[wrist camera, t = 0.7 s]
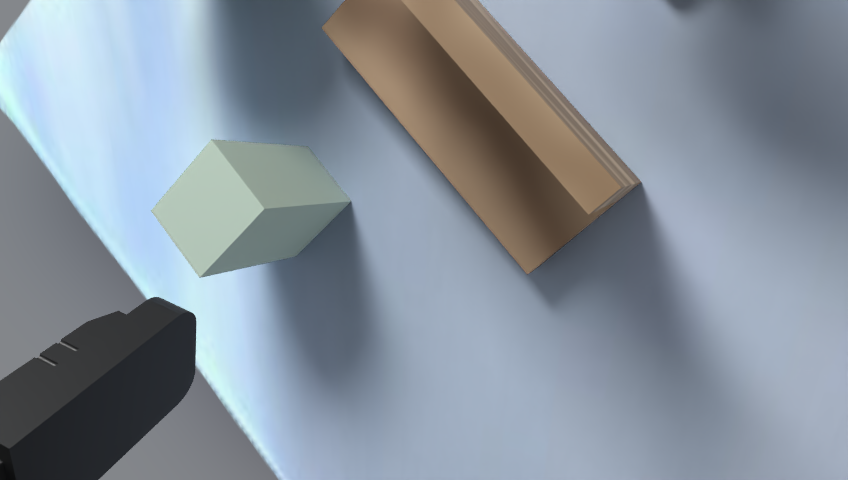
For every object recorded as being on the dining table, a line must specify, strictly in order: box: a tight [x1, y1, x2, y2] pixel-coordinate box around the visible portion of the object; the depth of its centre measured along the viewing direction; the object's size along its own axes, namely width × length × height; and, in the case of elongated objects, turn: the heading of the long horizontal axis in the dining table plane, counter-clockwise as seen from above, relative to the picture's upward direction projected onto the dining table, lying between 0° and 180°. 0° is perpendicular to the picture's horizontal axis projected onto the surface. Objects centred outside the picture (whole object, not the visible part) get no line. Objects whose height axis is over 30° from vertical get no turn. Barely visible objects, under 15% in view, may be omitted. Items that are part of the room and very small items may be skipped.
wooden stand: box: [322, 0, 641, 275], centre depth 33 cm, size 8×20×15 cm, turn 41°
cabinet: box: [151, 140, 351, 278], centre depth 41 cm, size 7×5×10 cm
